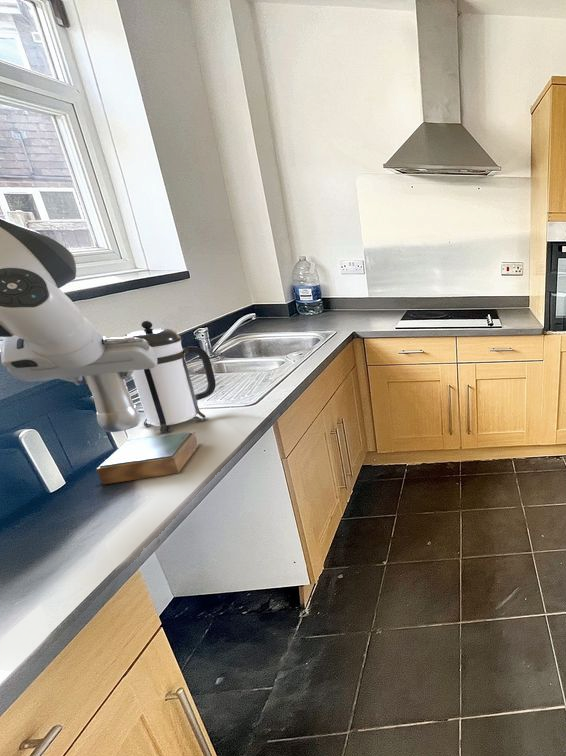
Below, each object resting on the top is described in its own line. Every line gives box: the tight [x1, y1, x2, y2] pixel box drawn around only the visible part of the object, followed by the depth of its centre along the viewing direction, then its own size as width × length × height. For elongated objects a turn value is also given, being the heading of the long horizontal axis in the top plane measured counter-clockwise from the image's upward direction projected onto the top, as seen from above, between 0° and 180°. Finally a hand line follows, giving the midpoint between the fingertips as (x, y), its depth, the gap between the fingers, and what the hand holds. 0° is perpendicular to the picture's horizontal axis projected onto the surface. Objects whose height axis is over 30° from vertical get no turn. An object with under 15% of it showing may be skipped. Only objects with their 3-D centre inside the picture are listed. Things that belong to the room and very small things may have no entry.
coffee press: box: [123, 320, 217, 434], centre depth 117 cm, size 17×16×30 cm
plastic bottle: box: [83, 336, 141, 433], centre depth 86 cm, size 6×7×20 cm
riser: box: [95, 431, 199, 485], centre depth 98 cm, size 14×14×4 cm
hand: (106, 378), depth 86 cm, fingers closed on plastic bottle, 6 cm apart
